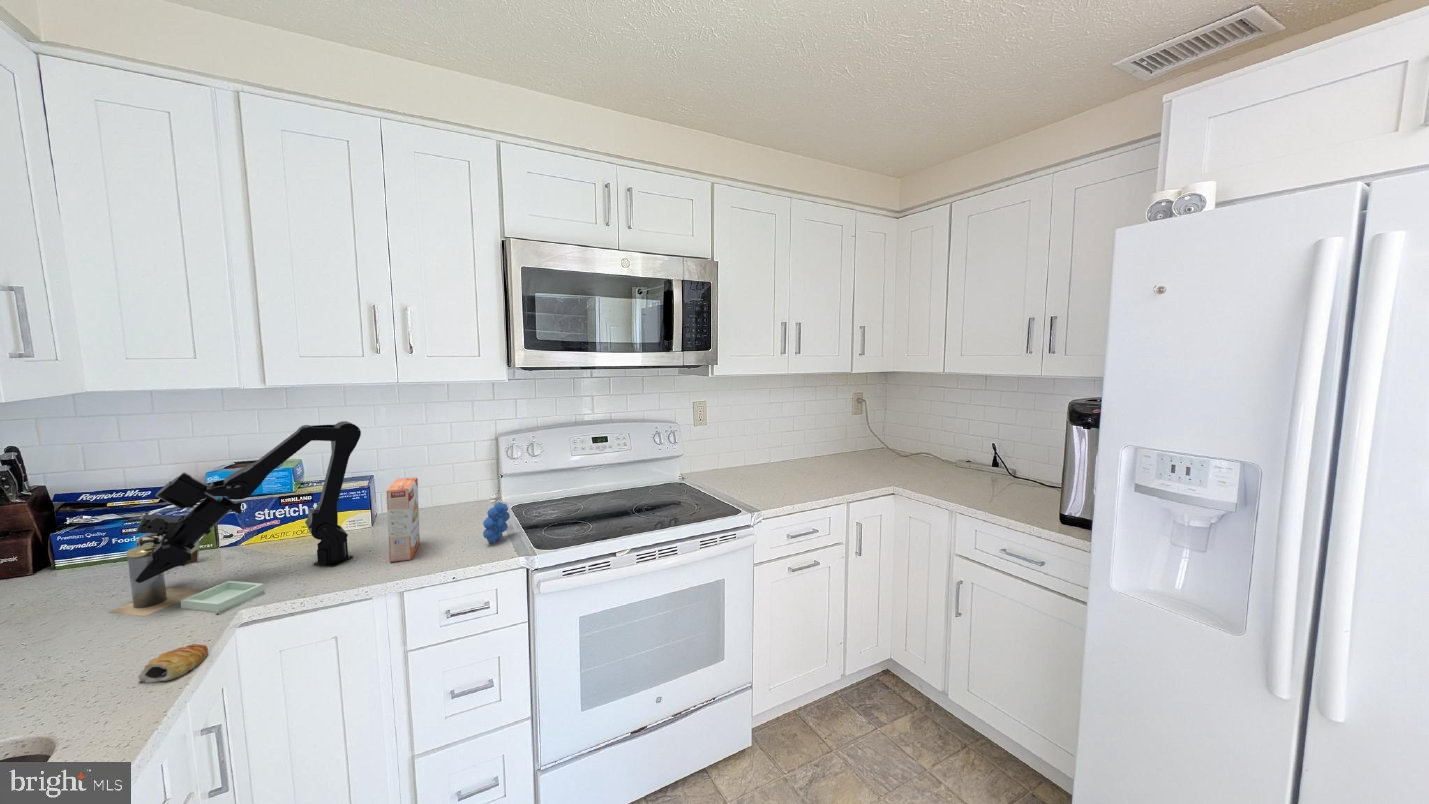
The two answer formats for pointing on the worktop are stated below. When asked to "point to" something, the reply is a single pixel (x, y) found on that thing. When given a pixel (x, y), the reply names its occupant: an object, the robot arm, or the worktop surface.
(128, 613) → the cork mat
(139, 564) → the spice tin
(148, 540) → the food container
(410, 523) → the cracker box
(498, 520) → the grapes
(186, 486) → the robot arm
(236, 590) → the dish
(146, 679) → the pastry
